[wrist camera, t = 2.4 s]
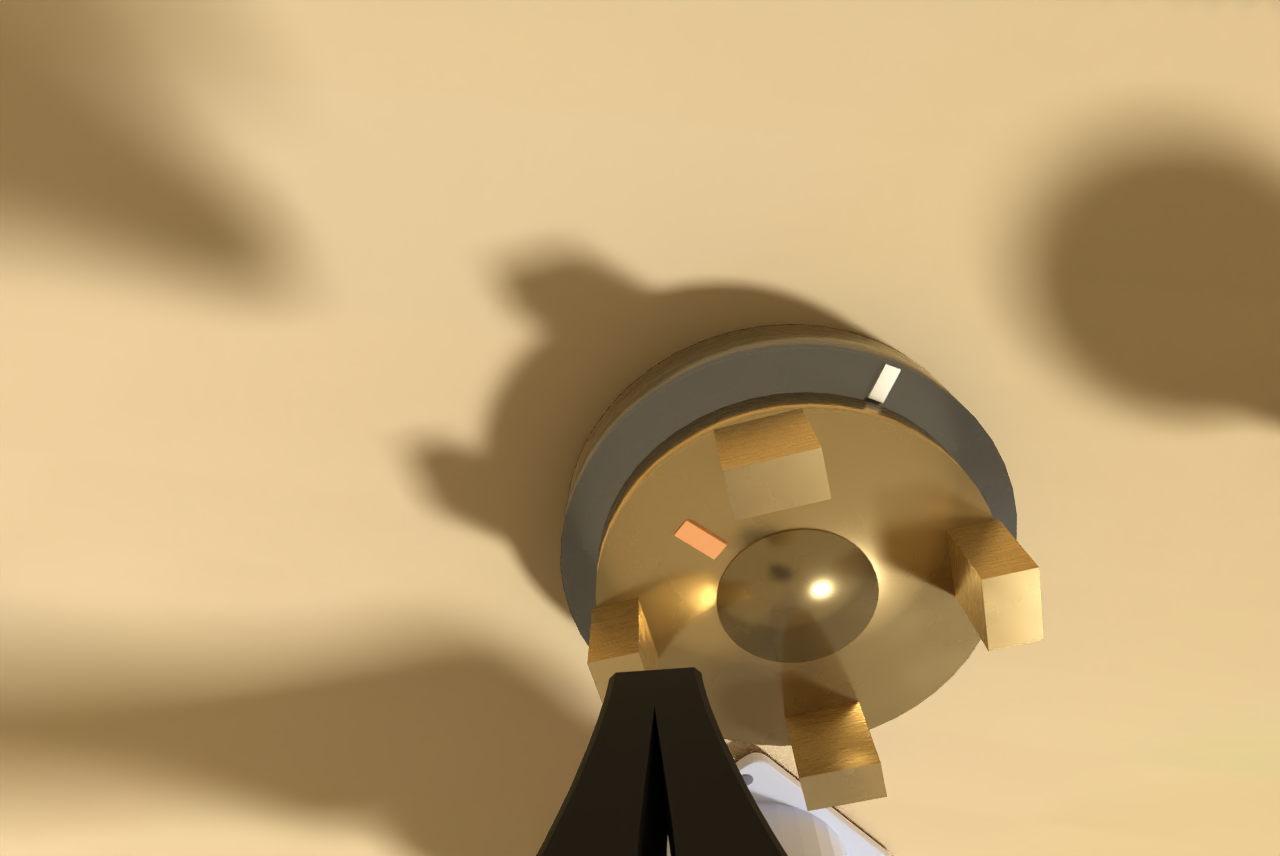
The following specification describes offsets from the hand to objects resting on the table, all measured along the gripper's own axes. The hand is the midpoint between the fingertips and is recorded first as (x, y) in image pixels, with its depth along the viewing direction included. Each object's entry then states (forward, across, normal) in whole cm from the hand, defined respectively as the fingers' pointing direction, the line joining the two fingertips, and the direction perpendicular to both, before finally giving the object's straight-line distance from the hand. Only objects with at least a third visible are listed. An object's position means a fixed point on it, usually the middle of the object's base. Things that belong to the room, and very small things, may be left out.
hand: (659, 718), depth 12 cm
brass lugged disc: (+8, -3, +3) cm, 9 cm away
